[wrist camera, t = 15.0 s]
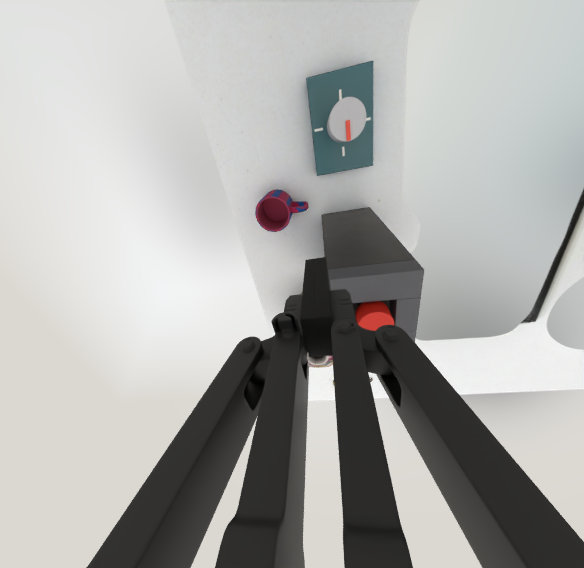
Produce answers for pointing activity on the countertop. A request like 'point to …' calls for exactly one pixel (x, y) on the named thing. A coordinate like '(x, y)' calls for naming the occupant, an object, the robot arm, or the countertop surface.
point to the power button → (373, 315)
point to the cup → (277, 210)
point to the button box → (372, 265)
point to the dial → (346, 119)
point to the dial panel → (321, 102)
